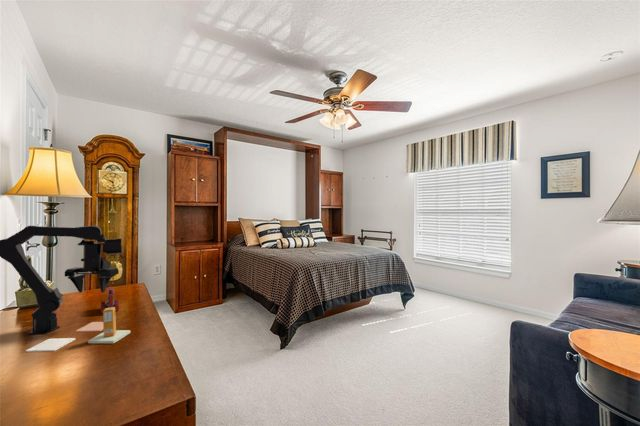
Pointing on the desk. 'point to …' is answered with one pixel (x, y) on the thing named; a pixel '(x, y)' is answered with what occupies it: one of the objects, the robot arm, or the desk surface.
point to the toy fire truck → (110, 301)
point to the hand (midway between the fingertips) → (91, 292)
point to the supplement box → (109, 322)
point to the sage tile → (111, 339)
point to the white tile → (51, 344)
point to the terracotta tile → (92, 327)
